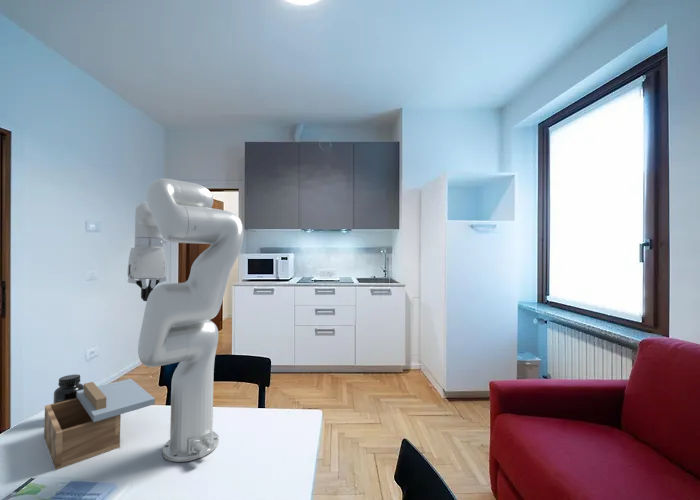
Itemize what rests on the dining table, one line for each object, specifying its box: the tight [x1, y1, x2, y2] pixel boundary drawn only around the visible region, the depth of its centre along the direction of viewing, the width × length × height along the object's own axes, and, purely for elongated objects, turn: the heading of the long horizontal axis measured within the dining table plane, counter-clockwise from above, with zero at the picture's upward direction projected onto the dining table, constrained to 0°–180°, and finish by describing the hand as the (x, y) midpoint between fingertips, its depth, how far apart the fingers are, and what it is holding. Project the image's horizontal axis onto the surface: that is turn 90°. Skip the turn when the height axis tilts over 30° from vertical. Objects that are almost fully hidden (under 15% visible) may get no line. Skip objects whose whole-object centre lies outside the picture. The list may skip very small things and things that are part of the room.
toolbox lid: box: [77, 378, 156, 422], centre depth 90 cm, size 21×13×4 cm, turn 48°
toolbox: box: [43, 398, 122, 471], centre depth 84 cm, size 20×12×8 cm, turn 48°
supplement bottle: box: [53, 374, 84, 404], centre depth 96 cm, size 7×7×12 cm
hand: (146, 300), depth 106 cm, fingers closed
